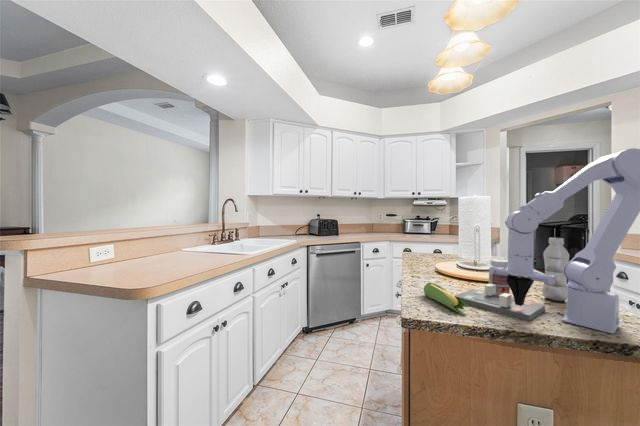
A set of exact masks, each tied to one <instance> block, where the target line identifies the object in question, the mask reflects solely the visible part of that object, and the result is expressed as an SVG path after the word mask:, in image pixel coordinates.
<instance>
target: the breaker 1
mask: <svg viewBox="0 0 640 426" xmlns="http://www.w3.org/2000/svg"><path fill="white" fill-rule="evenodd" d="M484 292H485V295H489V296H492V295H494V294H496V285H495V284H489V283H487V284H484Z"/></svg>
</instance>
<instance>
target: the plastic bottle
mask: <svg viewBox="0 0 640 426" xmlns="http://www.w3.org/2000/svg"><path fill="white" fill-rule="evenodd" d="M564 241H565V240H564V238H562V237H549V238H548V244H549V245H548V246H547V247H546V248H545V250H544V251H543V254H542V255H543V261H544V274H547V275H553V276H555V283H554V284H548V283H545V282H543V284H542V289H541V291H542V295H543V296H544V298H546V299H549V300H551V301H557V302H566V301H567V286H568V279H567V278H566V277H565V275H564V273H563V268H564V265H565V264H566V263H567V262H569V261H570V253H569V252H568V250H567V248H565V247H564V245H565V242H564Z"/></svg>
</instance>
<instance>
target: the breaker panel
mask: <svg viewBox="0 0 640 426" xmlns="http://www.w3.org/2000/svg"><path fill="white" fill-rule="evenodd" d="M454 296H456V297H457V298H459V299H460V300H462V301H464V302H465V303H466V304H467V305H468V306H472V307H475V308H479V309H482V310H487V311H490V312H494V313H498V314H502V315H505V316H509V317H513V318H516V319H519V320H524V321H527V322H530V321H532V320H533V319H535V318H536V317H537V316H539V315H541V314H542V313H543V312H545V311H546V305H545V304H540V303H536V302H532V301H527V300H524V305H522V306H520V305H516V304H515V300H514V297H511V306H509V307H507V308H506V307H502V306H499V294H494V295H492V296H489V295H485V291H483V290H478V289H473V288H471V289H469V290H467V291H464V292H461V293H458V294H455V295H454Z"/></svg>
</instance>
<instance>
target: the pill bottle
mask: <svg viewBox="0 0 640 426" xmlns="http://www.w3.org/2000/svg"><path fill="white" fill-rule="evenodd" d="M490 265H491V267H492V266H495V267H504V268H508V260H506V259H500V258H499V259H498V258H497V259H496V258H494V259H490ZM507 277H508V276H505V275H499V274H490V267H489V268H488V284H495V285H496V294H497V295H501V294H503V293H507V294H510V293H511V292H510V291H511V289H510V287H509V285H508V283H507V281H506V279H507Z"/></svg>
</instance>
